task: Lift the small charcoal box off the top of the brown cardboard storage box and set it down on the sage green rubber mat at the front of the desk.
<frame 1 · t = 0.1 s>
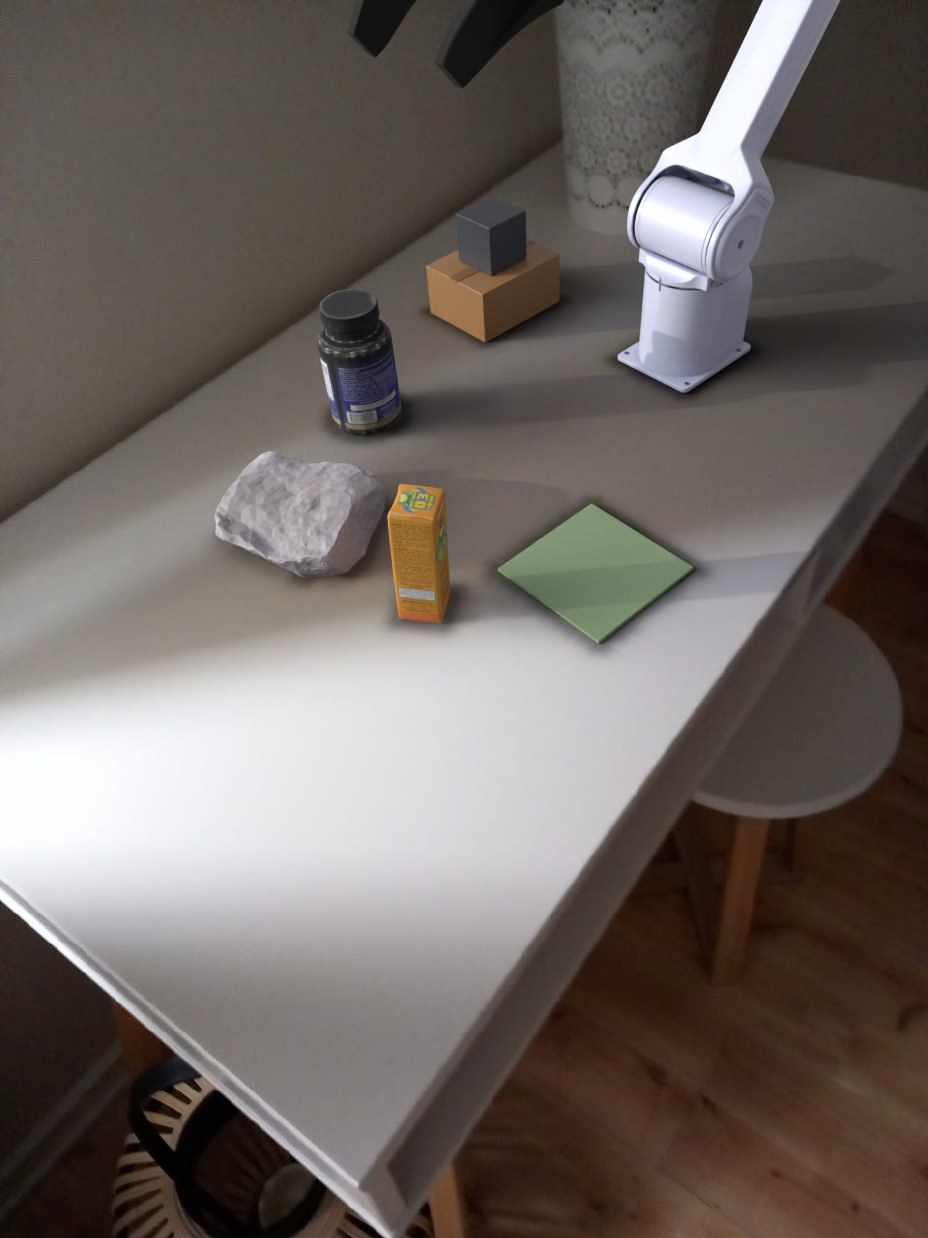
hand: (403, 60, 53), 32 cm above the table, tool tilted 50°, fingers open, 7 cm apart
pill bottle: (367, 419, 85), on the table
mat: (594, 570, 71), on the table
small box: (492, 258, 92), point 5 cm above the table, touching storage box
storage box: (494, 307, 96), on the table, touching small box
supplement box: (427, 608, 70), on the table
stone block: (300, 535, 76), on the table
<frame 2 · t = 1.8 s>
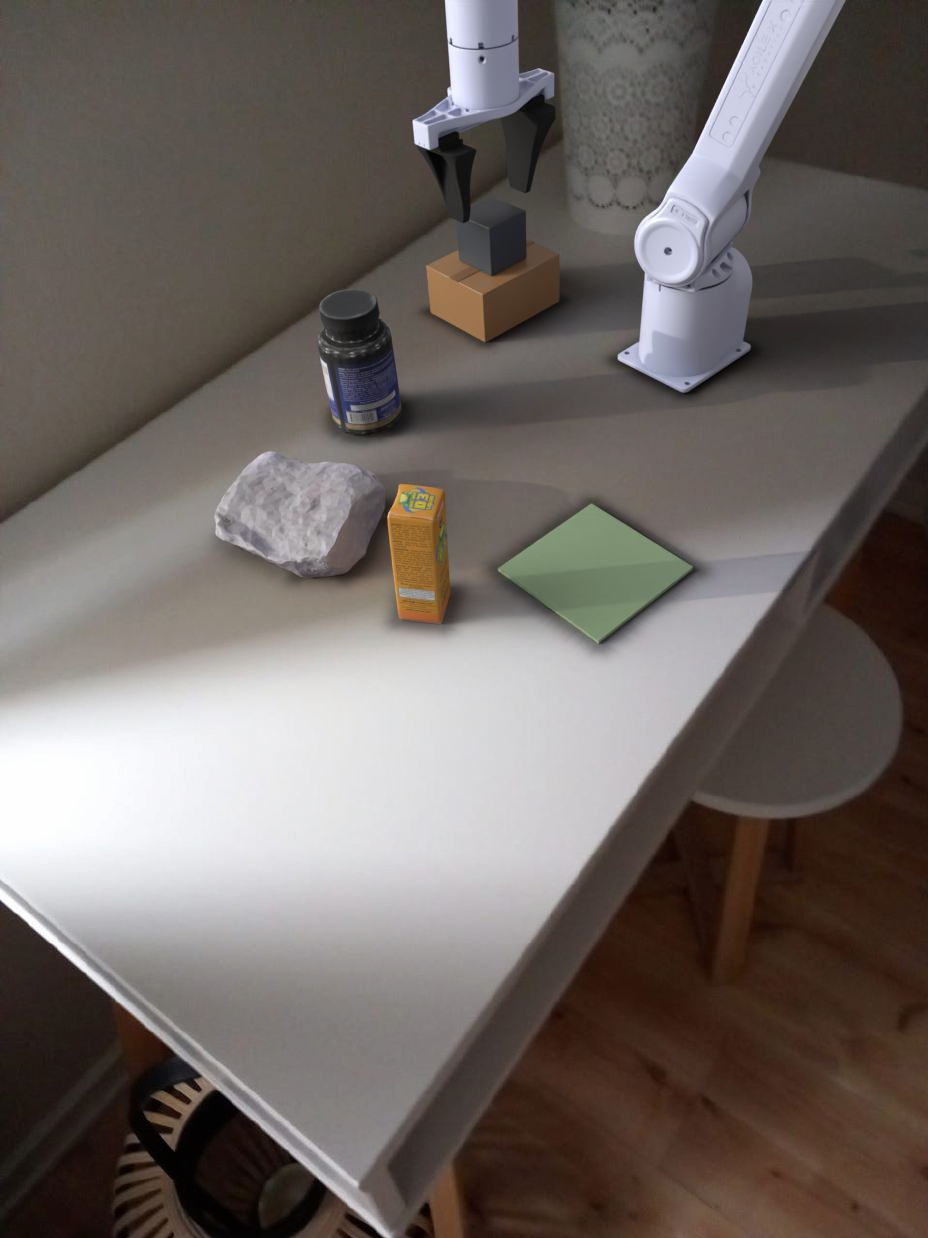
hand: (490, 203, 88), 10 cm above the table, tool pointing down, fingers open, 7 cm apart
nothing on the table moved.
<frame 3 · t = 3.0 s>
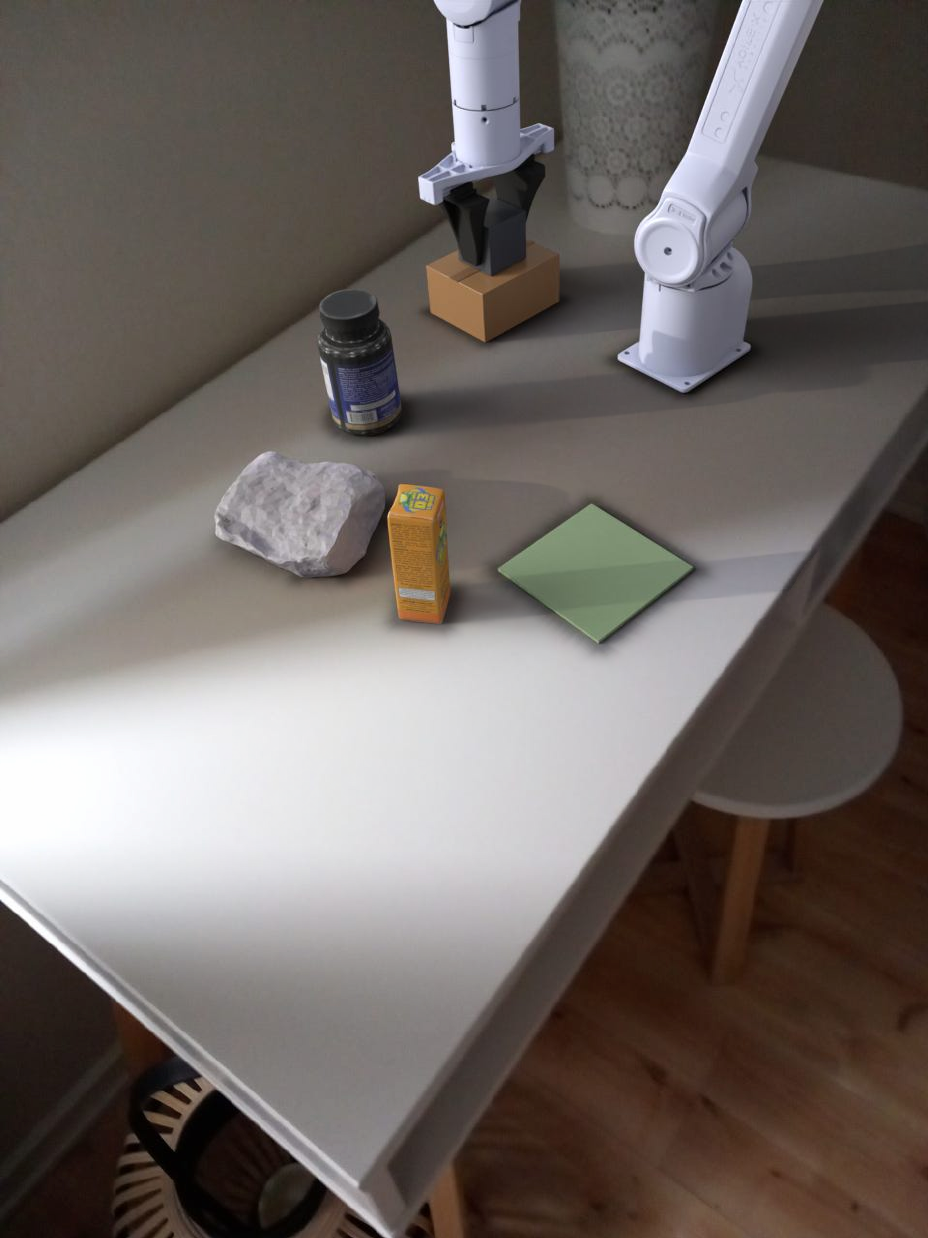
hand: (492, 251, 92), 6 cm above the table, tool pointing down, fingers closed on small box, 4 cm apart
small box: (492, 259, 92), point 5 cm above the table, touching gripper, storage box
everything else where it was.
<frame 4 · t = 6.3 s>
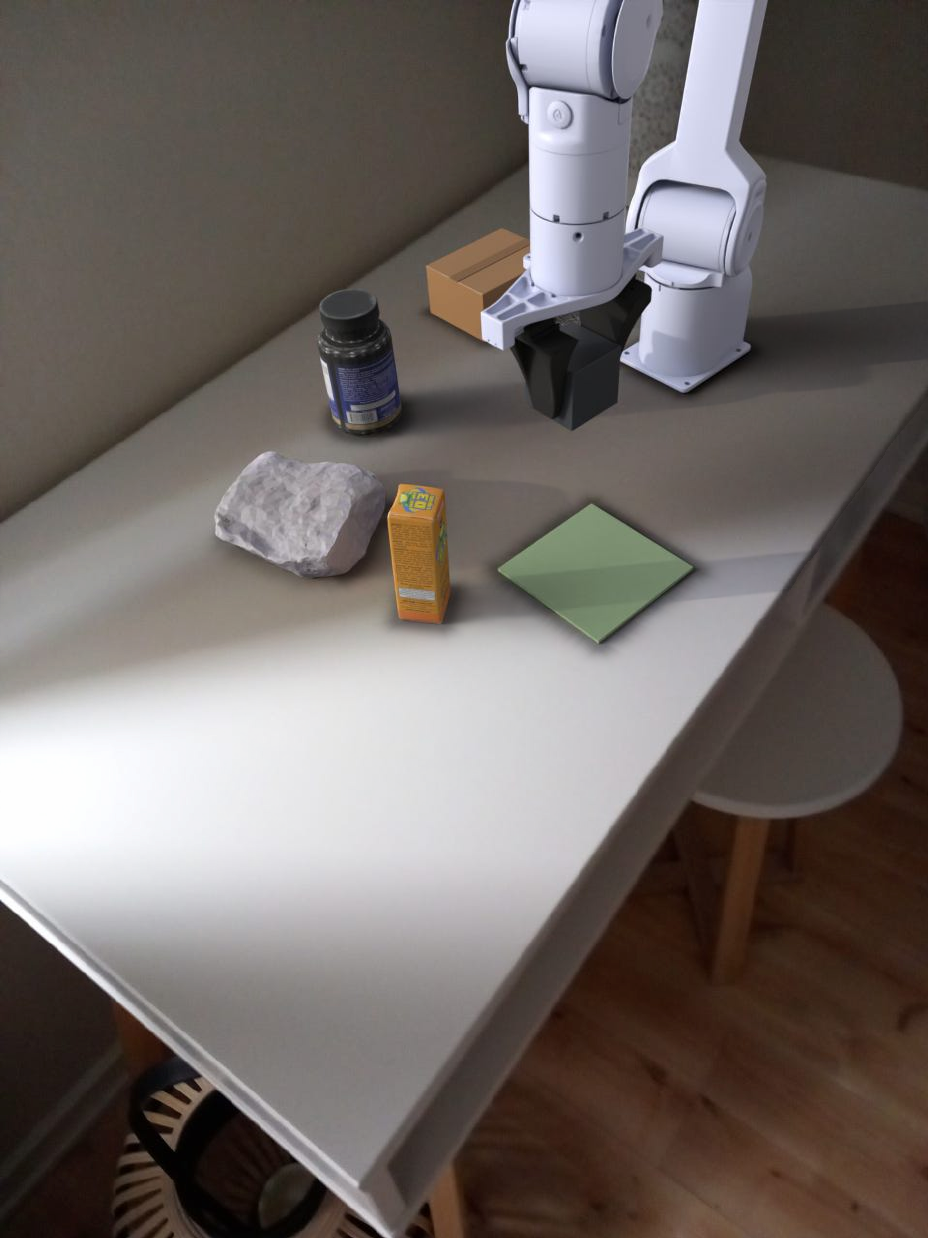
hand: (572, 395, 68), 10 cm above the table, tool pointing down, fingers closed on small box, 4 cm apart
small box: (571, 403, 68), point 10 cm above the table, touching gripper
storage box: (494, 307, 96), on the table
everything else where it was.
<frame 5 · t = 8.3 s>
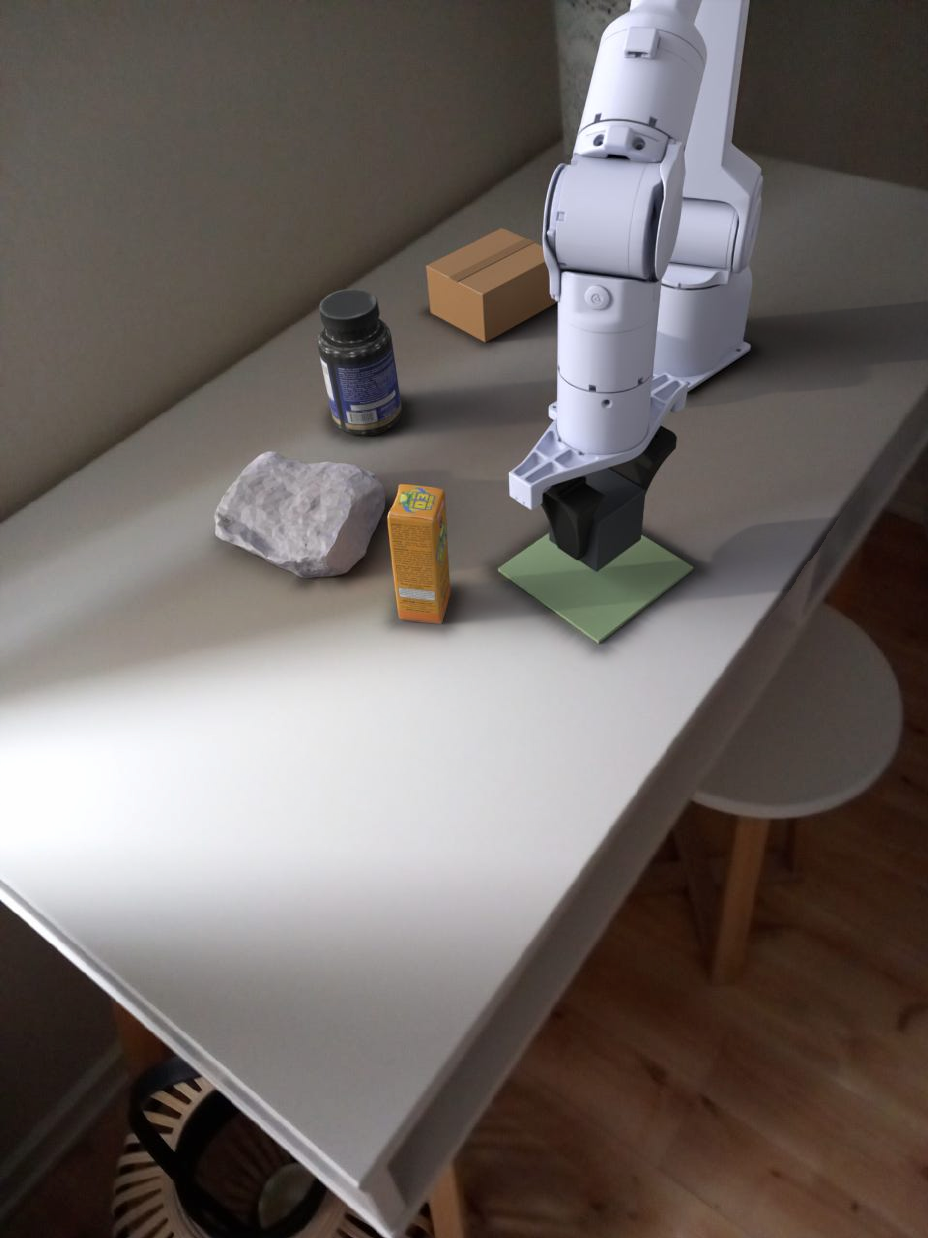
hand: (596, 533, 68), 4 cm above the table, tool pointing down, fingers closed on small box, 4 cm apart
small box: (594, 540, 69), point 3 cm above the table, touching gripper
everything else where it was.
when the fingers open (1 cm above the table, at t = 9.6 s): small box stays where it is, resting on mat.
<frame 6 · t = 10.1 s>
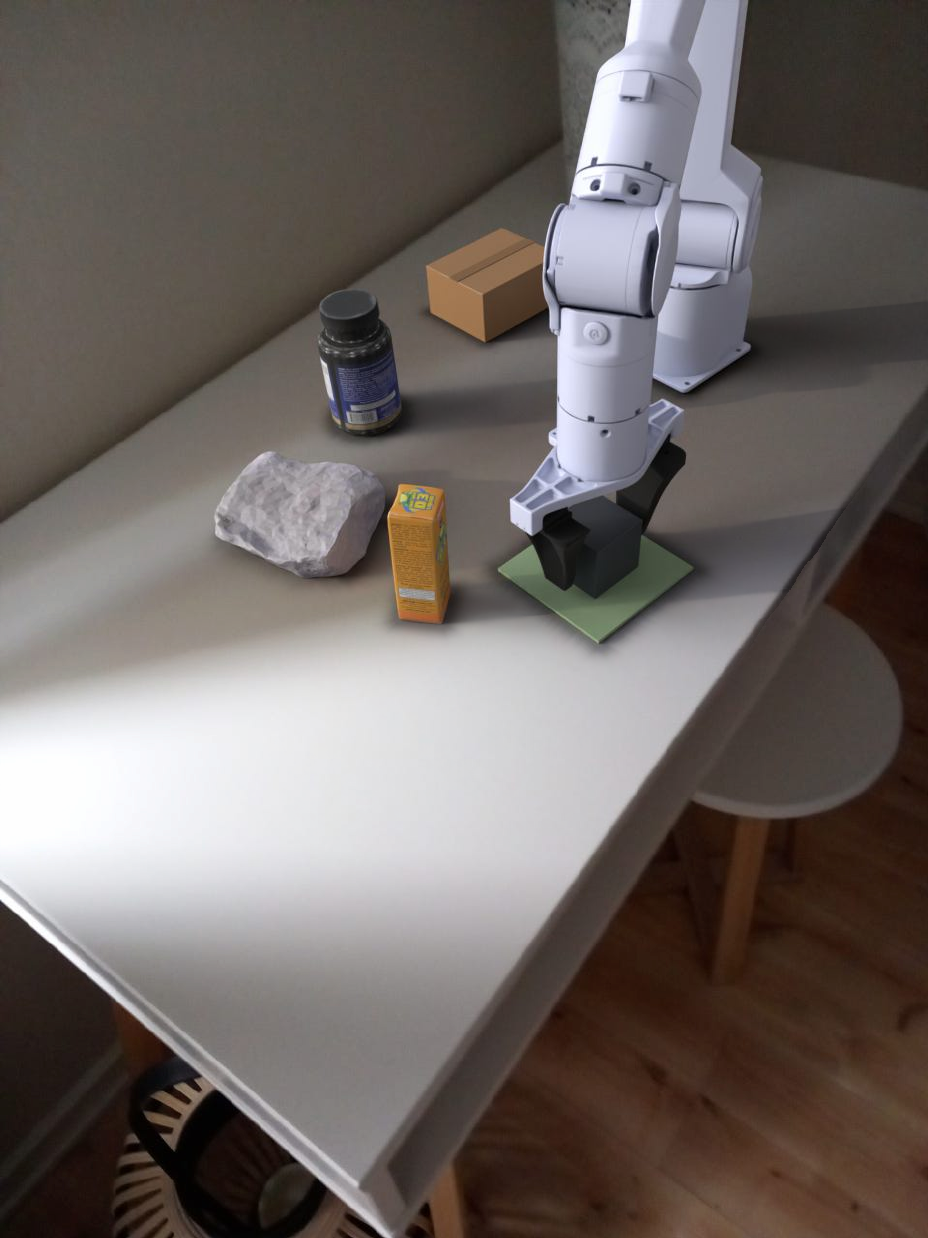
hand: (595, 554, 70), 2 cm above the table, tool pointing down, fingers open, 7 cm apart
small box: (593, 567, 71), resting on mat
everything else where it was.
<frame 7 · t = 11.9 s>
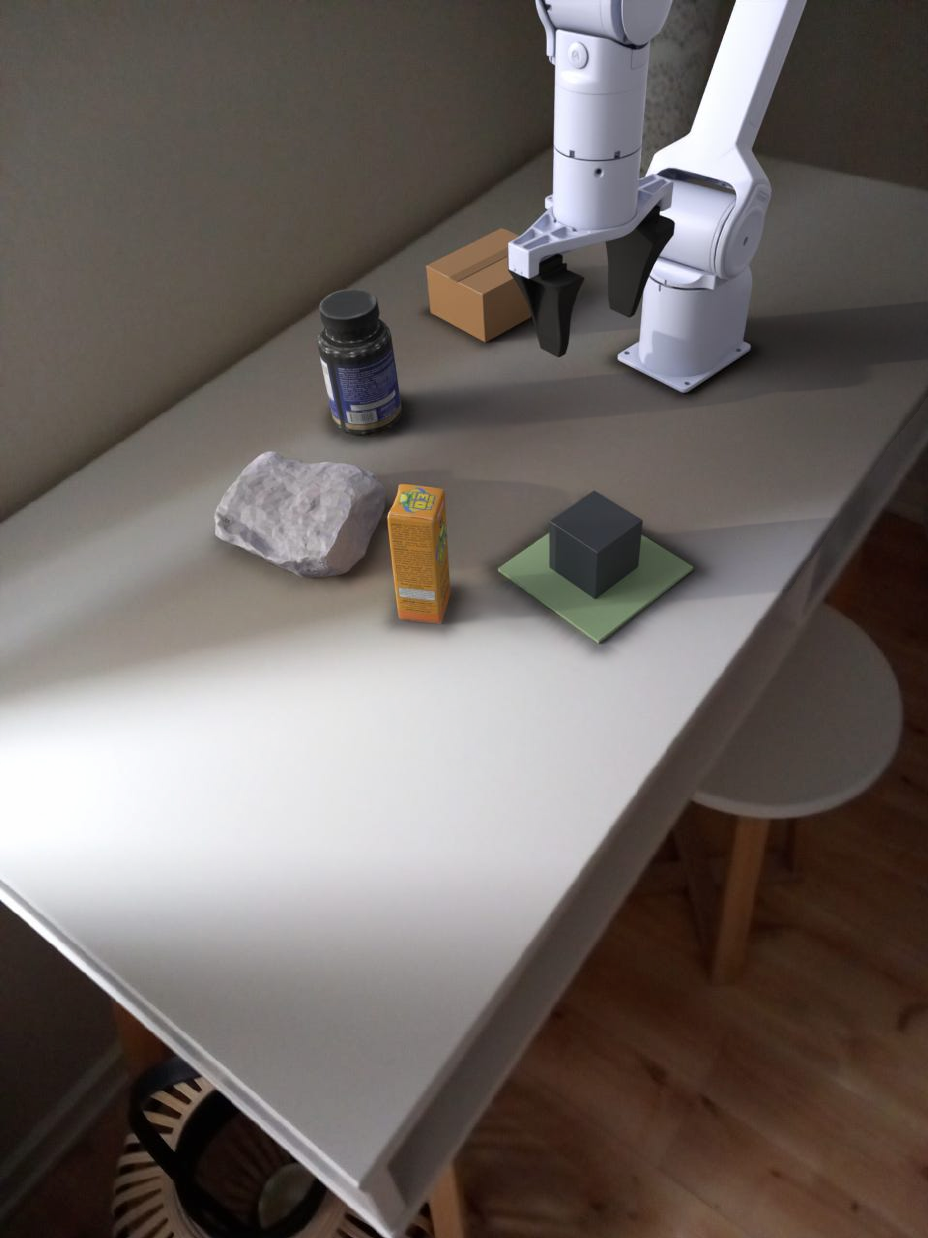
hand: (588, 330, 73), 10 cm above the table, tool pointing down, fingers open, 7 cm apart
nothing on the table moved.
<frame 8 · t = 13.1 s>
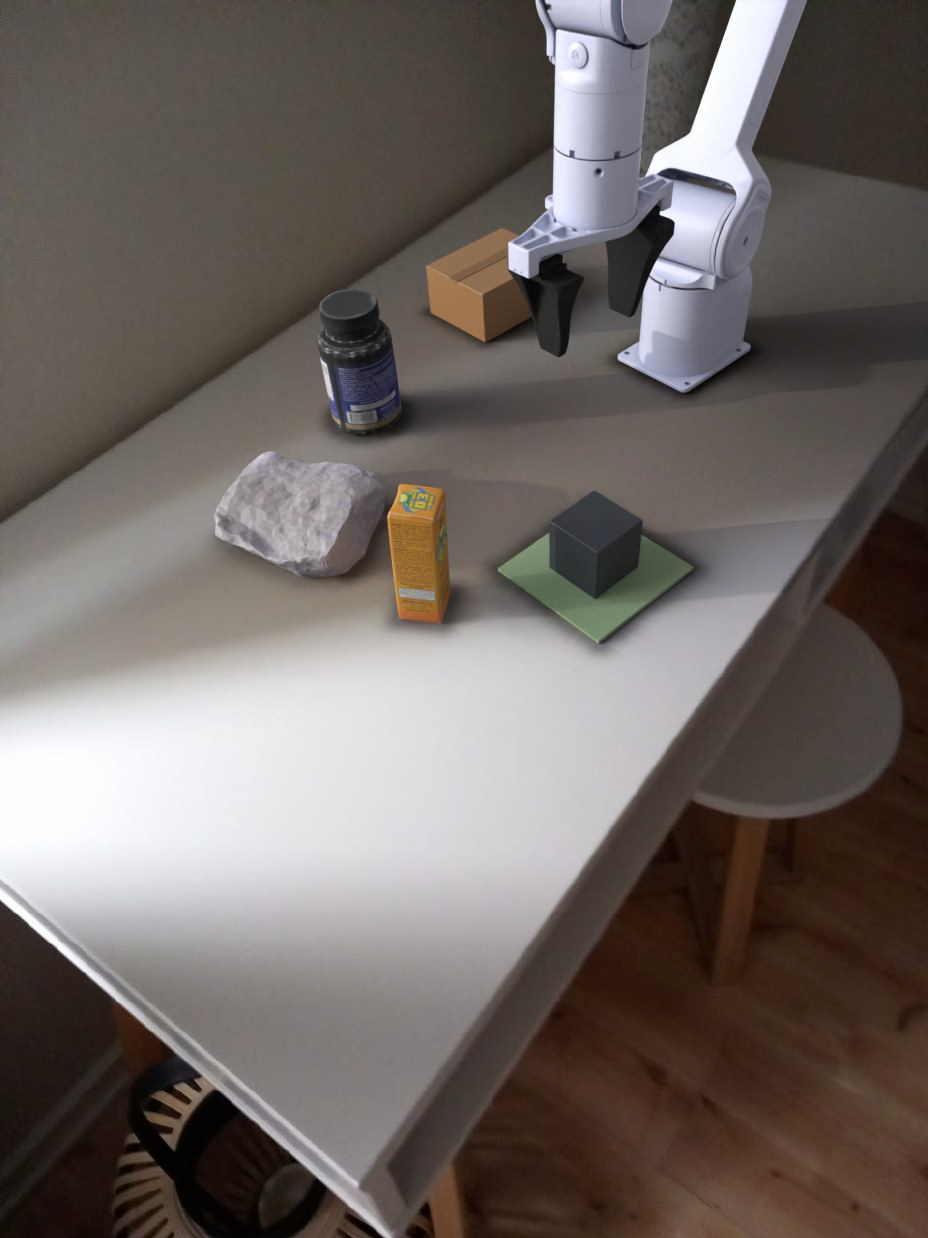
hand: (588, 330, 73), 10 cm above the table, tool pointing down, fingers open, 7 cm apart
nothing on the table moved.
at the end: small box inside the target area on the mat (0.1 cm from its centre), point 0.3 cm above the mat's base; small box touching mat; small box tilted 0° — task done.
